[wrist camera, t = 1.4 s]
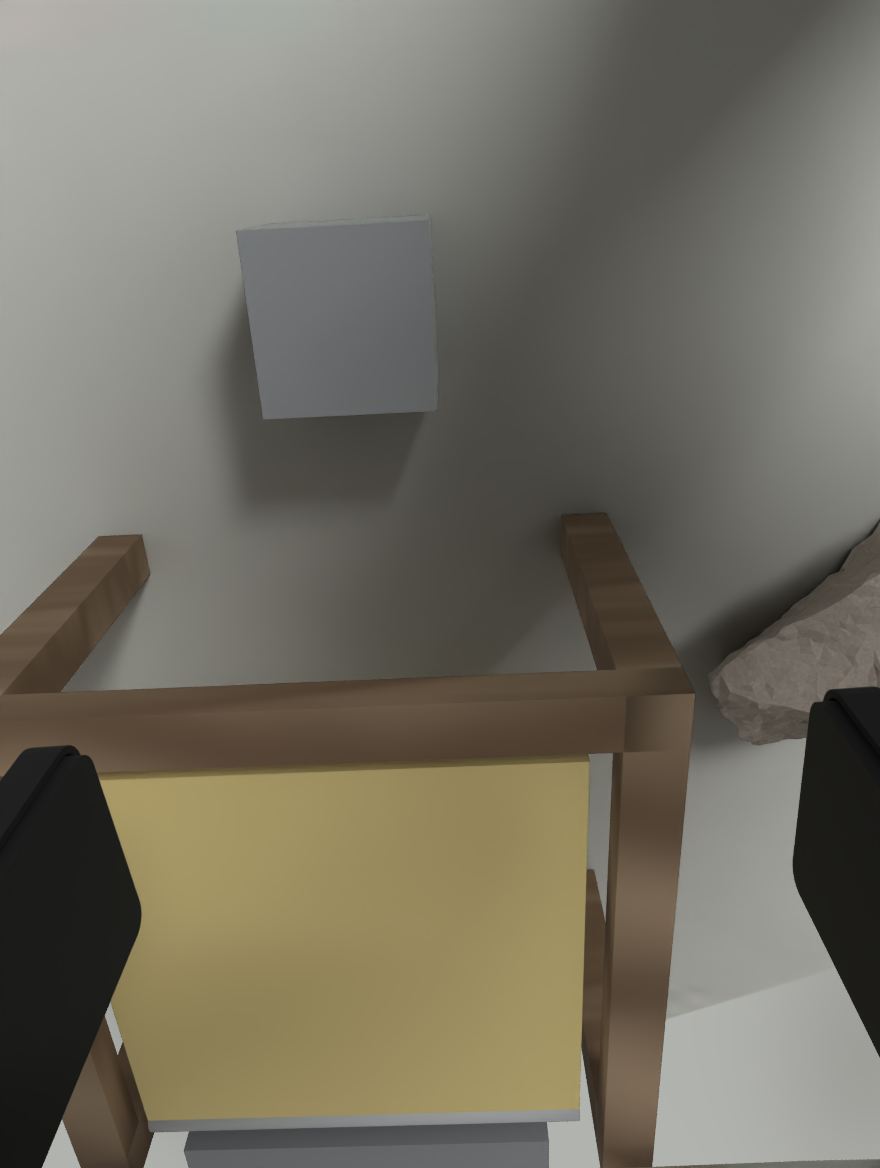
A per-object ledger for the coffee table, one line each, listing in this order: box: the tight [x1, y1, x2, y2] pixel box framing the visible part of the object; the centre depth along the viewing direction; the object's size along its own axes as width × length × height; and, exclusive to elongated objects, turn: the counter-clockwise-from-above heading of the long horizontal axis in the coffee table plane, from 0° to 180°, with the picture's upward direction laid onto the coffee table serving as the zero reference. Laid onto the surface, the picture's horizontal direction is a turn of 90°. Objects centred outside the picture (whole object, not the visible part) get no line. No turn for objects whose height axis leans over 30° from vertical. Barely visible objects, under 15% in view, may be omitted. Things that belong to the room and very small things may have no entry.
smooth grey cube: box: [236, 215, 439, 420], centre depth 25 cm, size 5×5×5 cm
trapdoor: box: [97, 754, 590, 1168], centre depth 27 cm, size 21×14×4 cm, turn 3°
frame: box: [0, 513, 695, 1168], centre depth 29 cm, size 19×19×12 cm
